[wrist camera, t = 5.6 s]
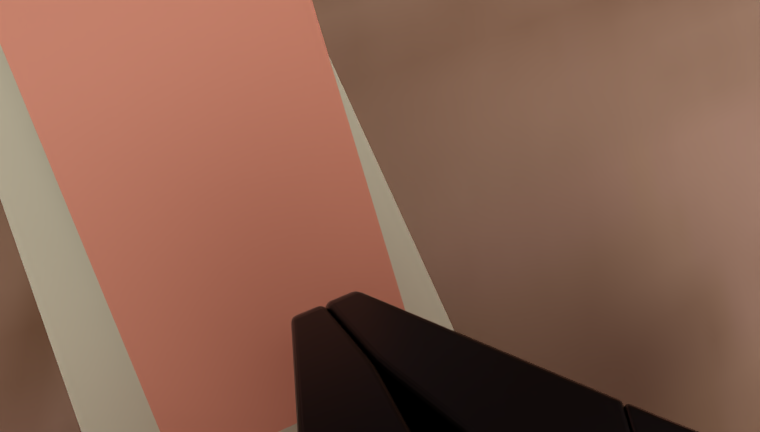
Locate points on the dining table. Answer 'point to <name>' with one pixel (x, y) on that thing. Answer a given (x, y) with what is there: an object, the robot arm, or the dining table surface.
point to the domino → (202, 187)
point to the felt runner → (82, 290)
